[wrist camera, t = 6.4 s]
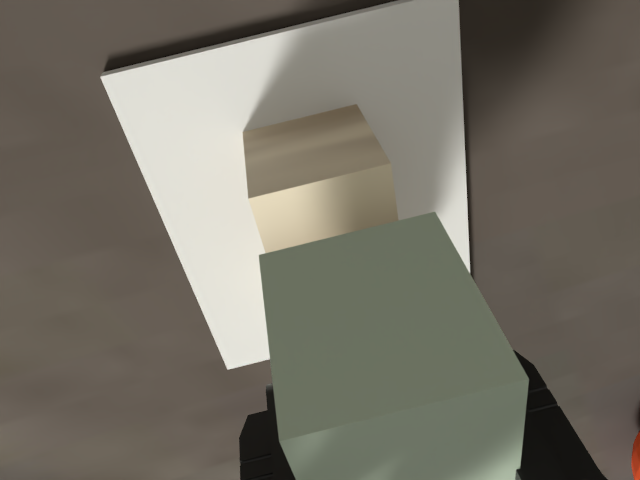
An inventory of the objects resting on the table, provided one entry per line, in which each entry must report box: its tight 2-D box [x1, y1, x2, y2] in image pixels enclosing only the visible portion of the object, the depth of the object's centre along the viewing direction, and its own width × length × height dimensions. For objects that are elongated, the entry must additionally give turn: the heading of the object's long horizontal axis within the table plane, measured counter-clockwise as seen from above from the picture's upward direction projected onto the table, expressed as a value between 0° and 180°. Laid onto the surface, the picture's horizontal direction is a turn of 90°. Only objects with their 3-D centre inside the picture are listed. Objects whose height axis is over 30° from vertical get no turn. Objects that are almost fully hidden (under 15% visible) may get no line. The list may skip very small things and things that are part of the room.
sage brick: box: [259, 212, 529, 480], centre depth 11 cm, size 7×4×4 cm, turn 11°
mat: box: [100, 0, 470, 369], centre depth 19 cm, size 12×10×1 cm
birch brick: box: [242, 104, 399, 253], centre depth 17 cm, size 7×4×4 cm, turn 11°
